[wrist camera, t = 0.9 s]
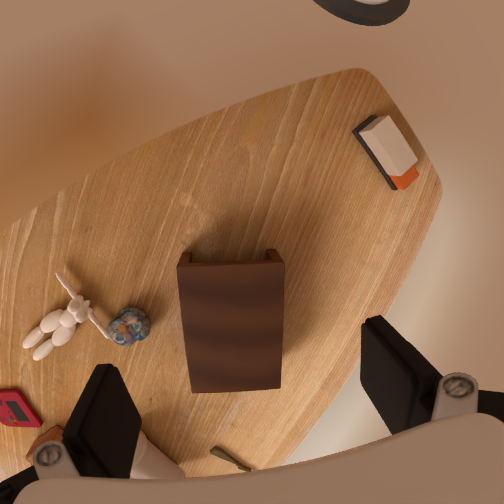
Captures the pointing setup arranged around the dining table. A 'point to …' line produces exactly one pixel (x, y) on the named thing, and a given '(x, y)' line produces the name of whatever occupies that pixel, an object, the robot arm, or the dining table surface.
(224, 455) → the olive tapered flat bar
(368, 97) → the dining table surface
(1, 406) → the handheld gaming console
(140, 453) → the coffee cup
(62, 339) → the decorative figure
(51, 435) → the decorative item
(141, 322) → the decorative stone
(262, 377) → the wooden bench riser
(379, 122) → the tricolour layered block
